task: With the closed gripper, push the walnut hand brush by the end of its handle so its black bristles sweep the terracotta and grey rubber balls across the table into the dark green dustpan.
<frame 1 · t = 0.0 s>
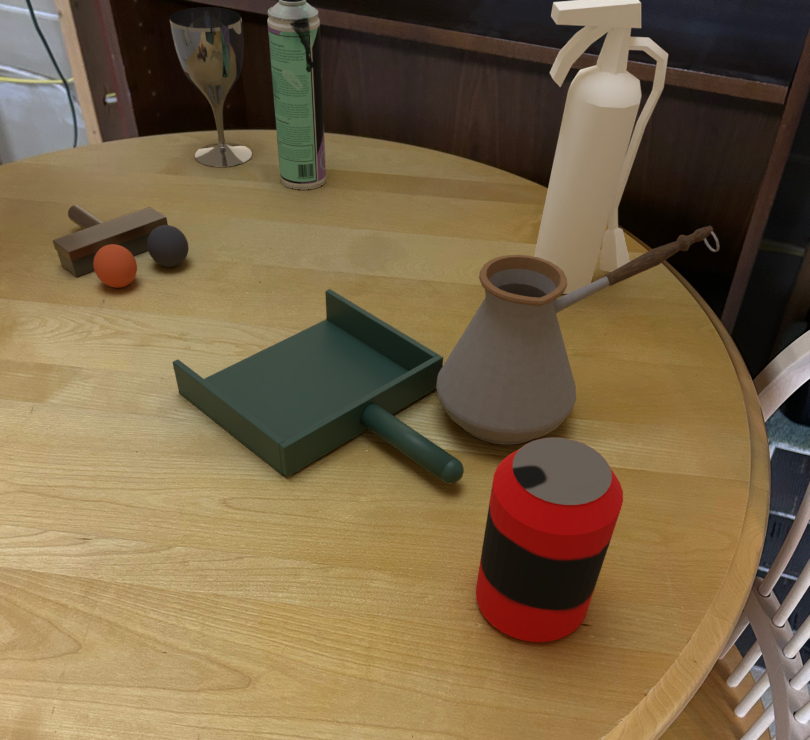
grey ball: (168, 246, 81), point 2 cm above the table
wine glass: (223, 156, 101), on the table
fire extinguisher: (570, 281, 84), on the table
coffee pot: (554, 408, 69), on the table
soda can: (530, 601, 55), on the table
spray can: (303, 181, 97), on the table
terracotta ball: (115, 266, 78), point 2 cm above the table
brush: (117, 253, 84), on the table
dustpan: (309, 388, 70), on the table
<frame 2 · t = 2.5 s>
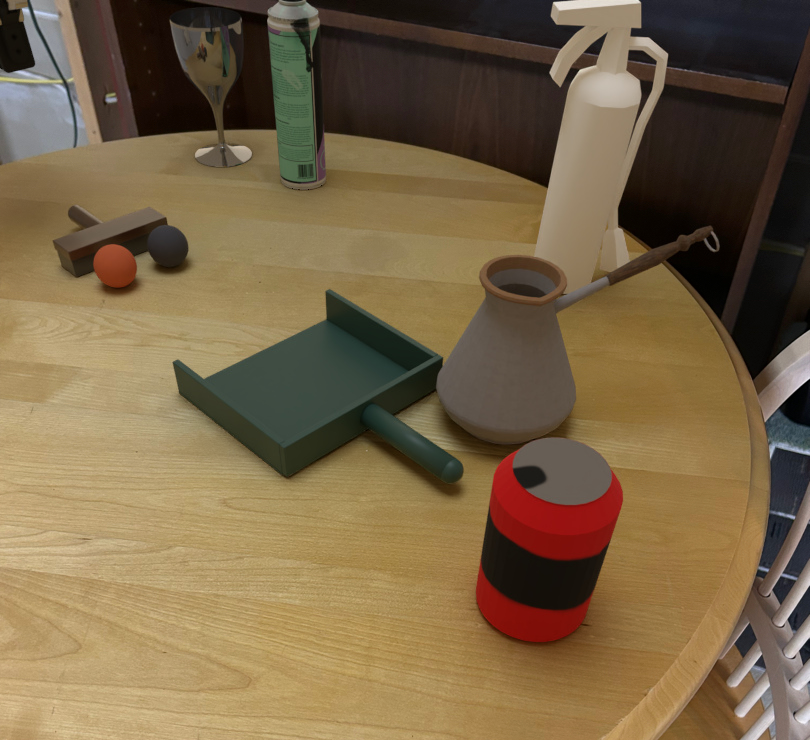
hand: (17, 67, 79), 14 cm above the table, tool pointing down, fingers closed
nothing on the table moved.
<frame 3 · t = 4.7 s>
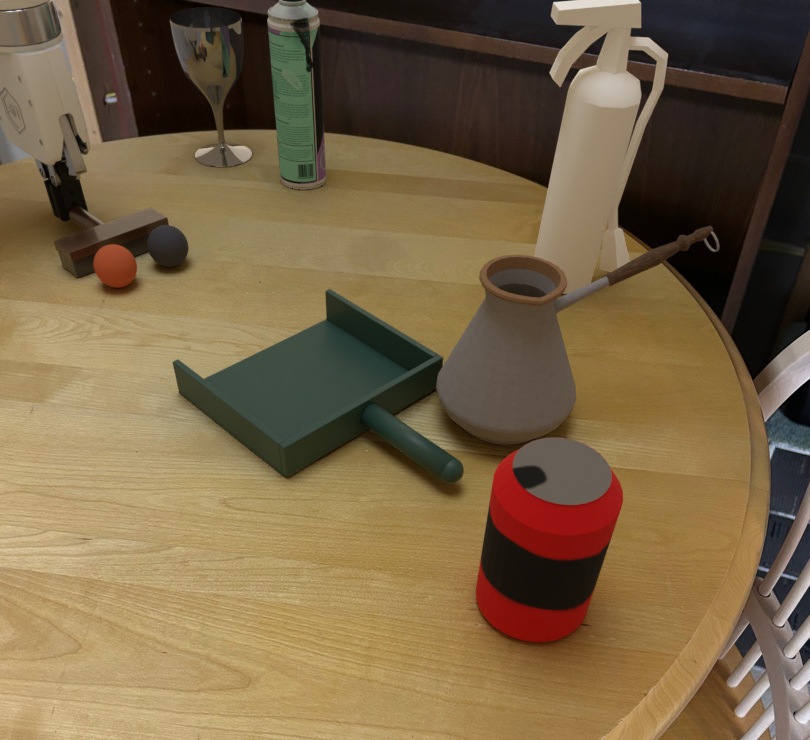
hand: (71, 215, 88), 1 cm above the table, tool pointing down, fingers closed
brush: (118, 254, 84), on the table, touching gripper
everything else where it was.
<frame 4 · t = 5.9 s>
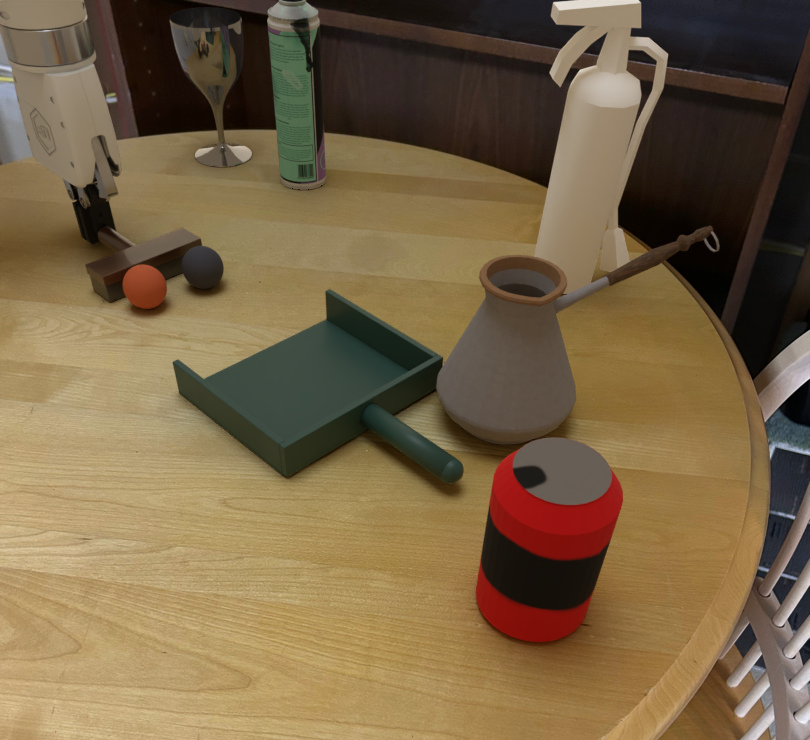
hand: (99, 237, 85), 1 cm above the table, tool pointing down, fingers closed
grey ball: (202, 267, 79), point 2 cm above the table, tilted 165°
terracotta ball: (144, 286, 76), point 2 cm above the table, tilted 147°
brush: (150, 277, 81), on the table, touching gripper
everything else where it was.
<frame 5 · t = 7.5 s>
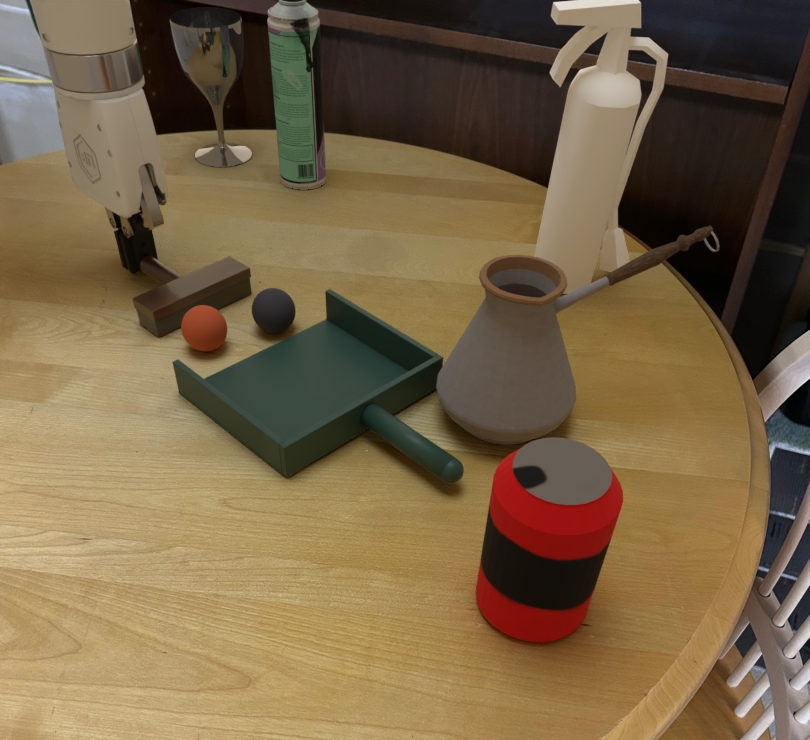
hand: (141, 266, 81), 1 cm above the table, tool pointing down, fingers closed
grey ball: (273, 310, 74), point 2 cm above the table, tilted 111°
terracotta ball: (204, 328, 72), point 2 cm above the table, tilted 59°
brush: (197, 308, 77), on the table, touching gripper
everything else where it was.
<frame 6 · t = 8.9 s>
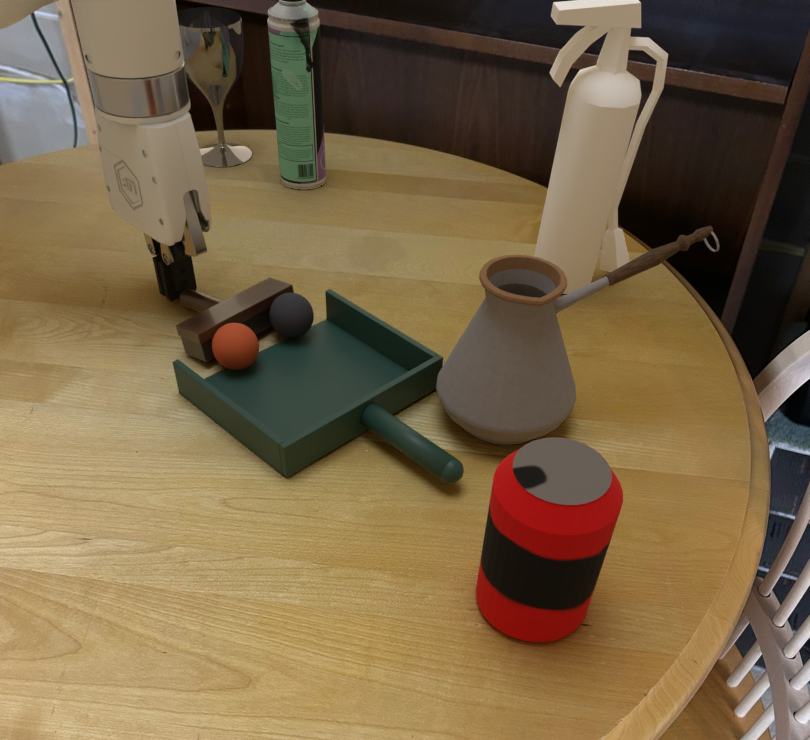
hand: (178, 293, 78), 1 cm above the table, tool pointing down, fingers closed
grey ball: (291, 315, 73), point 2 cm above the table, tilted 165°, touching dustpan
terracotta ball: (235, 346, 70), point 2 cm above the table, tilted 174°
brush: (242, 332, 74), on the table, tilted 9°, touching gripper
everything else where it was.
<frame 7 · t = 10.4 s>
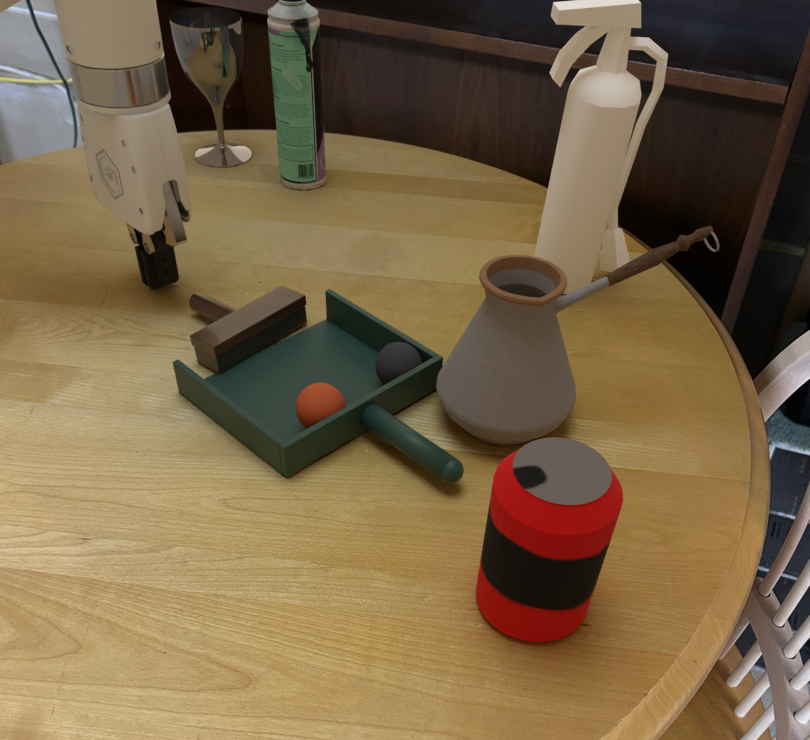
hand: (161, 282, 79), 1 cm above the table, tool pointing down, fingers closed
grey ball: (398, 366, 68), point 2 cm above the table, tilted 157°, touching dustpan
terracotta ball: (320, 408, 64), point 2 cm above the table, tilted 150°, touching dustpan
brush: (254, 342, 74), on the table, touching dustpan
everything else where it was.
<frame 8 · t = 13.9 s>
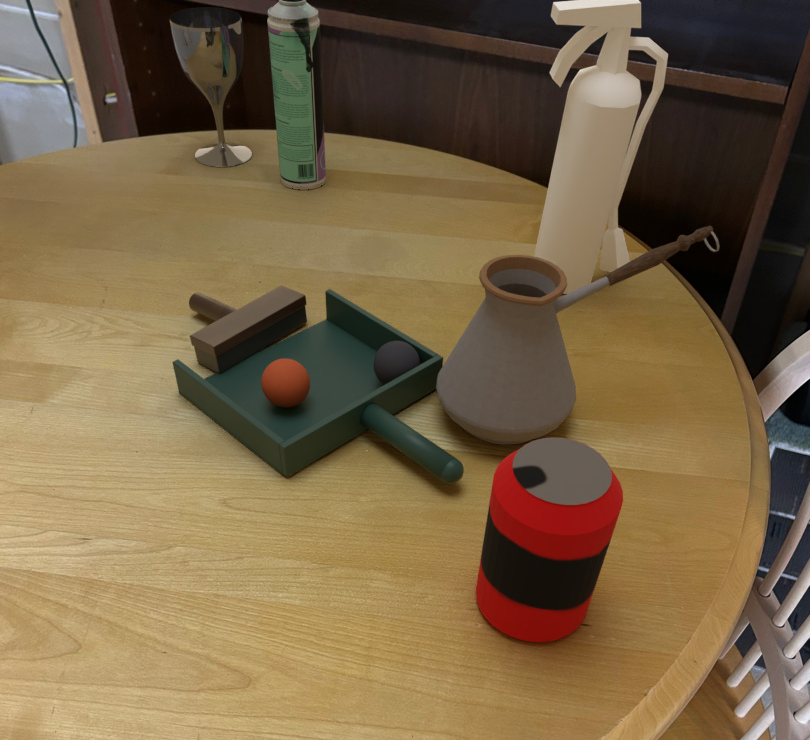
grey ball: (396, 364, 69), point 2 cm above the table, tilted 150°, touching dustpan
terracotta ball: (285, 383, 66), point 2 cm above the table, tilted 24°, touching dustpan
everything else where it was.
at the end: terracotta ball inside the target area in the dustpan (2.8 cm from its centre), point 2.2 cm above the dustpan's base; grey ball inside the target area in the dustpan (7.1 cm from its centre), point 2.2 cm above the dustpan's base; brush moved 22.4 cm from its start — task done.
